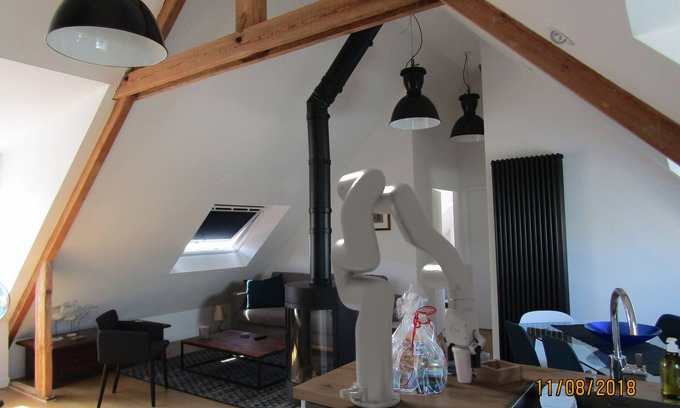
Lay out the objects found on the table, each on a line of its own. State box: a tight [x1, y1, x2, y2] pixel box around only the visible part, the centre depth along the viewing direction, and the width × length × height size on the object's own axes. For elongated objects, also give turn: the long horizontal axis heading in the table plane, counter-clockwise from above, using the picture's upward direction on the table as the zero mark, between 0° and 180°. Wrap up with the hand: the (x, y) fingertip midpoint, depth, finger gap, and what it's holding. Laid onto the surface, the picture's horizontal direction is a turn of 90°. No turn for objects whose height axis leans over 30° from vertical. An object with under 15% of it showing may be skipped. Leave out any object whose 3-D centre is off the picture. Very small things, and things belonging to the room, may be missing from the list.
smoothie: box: [452, 344, 473, 384], centre depth 137 cm, size 6×6×14 cm
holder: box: [474, 358, 524, 386], centre depth 138 cm, size 10×10×4 cm
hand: (463, 364), depth 137 cm, fingers open, 9 cm apart
